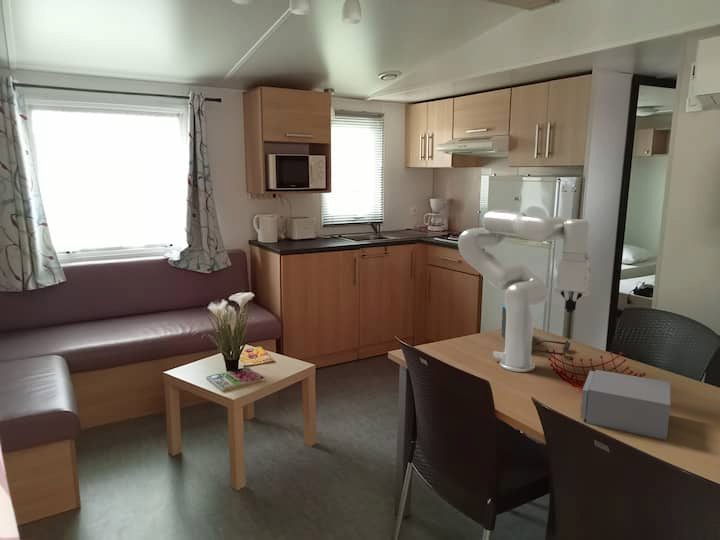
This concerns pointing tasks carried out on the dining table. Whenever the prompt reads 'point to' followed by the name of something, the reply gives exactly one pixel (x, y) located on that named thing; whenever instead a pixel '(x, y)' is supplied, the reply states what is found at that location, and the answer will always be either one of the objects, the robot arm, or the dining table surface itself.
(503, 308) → the game console
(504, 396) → the dining table surface
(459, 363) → the dining table surface
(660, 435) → the block
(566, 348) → the eyeglasses
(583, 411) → the tray
